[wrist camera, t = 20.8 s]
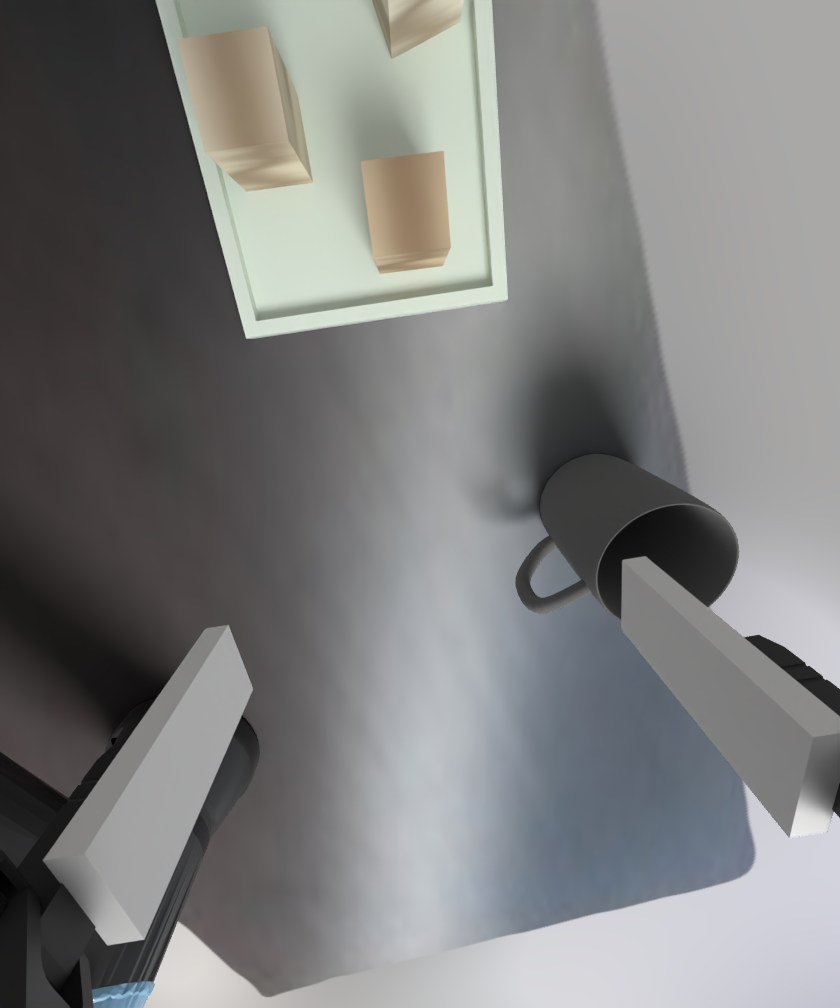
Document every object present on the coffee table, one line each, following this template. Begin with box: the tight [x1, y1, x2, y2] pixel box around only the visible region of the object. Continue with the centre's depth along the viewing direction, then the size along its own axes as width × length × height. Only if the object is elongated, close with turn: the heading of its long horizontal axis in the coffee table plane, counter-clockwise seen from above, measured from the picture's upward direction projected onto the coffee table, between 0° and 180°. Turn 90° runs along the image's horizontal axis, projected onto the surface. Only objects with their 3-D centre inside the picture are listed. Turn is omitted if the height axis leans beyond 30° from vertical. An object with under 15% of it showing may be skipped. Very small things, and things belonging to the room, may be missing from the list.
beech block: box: [177, 26, 313, 192], centre depth 24 cm, size 4×4×6 cm
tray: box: [156, 0, 508, 339], centre depth 27 cm, size 19×21×2 cm
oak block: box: [360, 151, 451, 274], centre depth 26 cm, size 4×4×6 cm
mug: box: [516, 454, 739, 620], centre depth 32 cm, size 14×9×12 cm
